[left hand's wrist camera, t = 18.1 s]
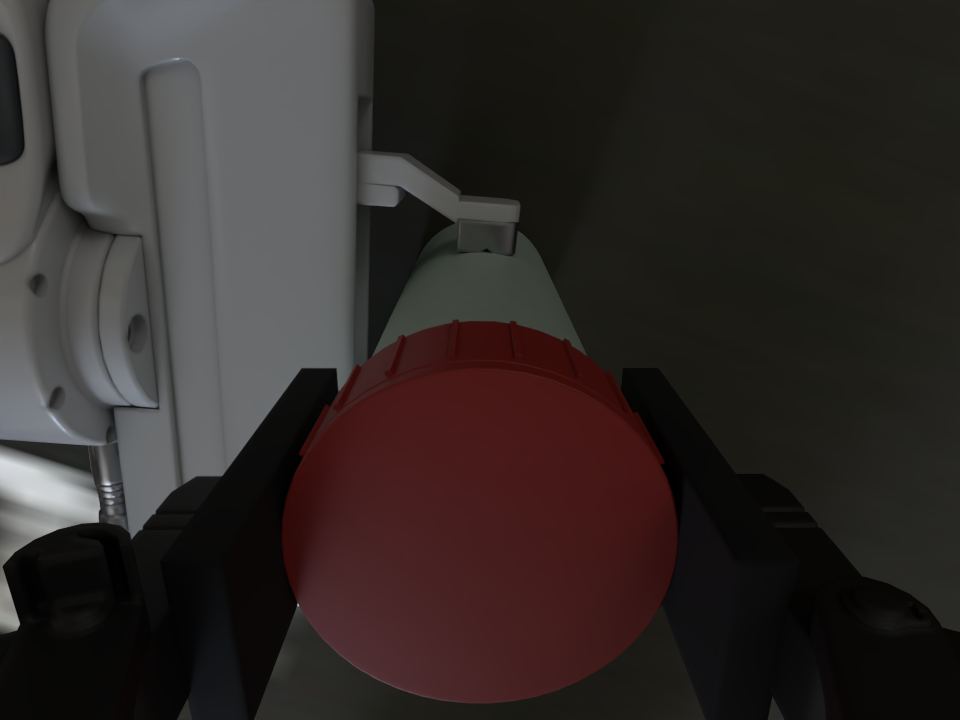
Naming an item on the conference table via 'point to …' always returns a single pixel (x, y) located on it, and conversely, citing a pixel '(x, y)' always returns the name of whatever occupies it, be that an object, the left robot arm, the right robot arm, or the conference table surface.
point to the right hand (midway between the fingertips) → (507, 334)
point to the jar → (478, 291)
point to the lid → (479, 516)
